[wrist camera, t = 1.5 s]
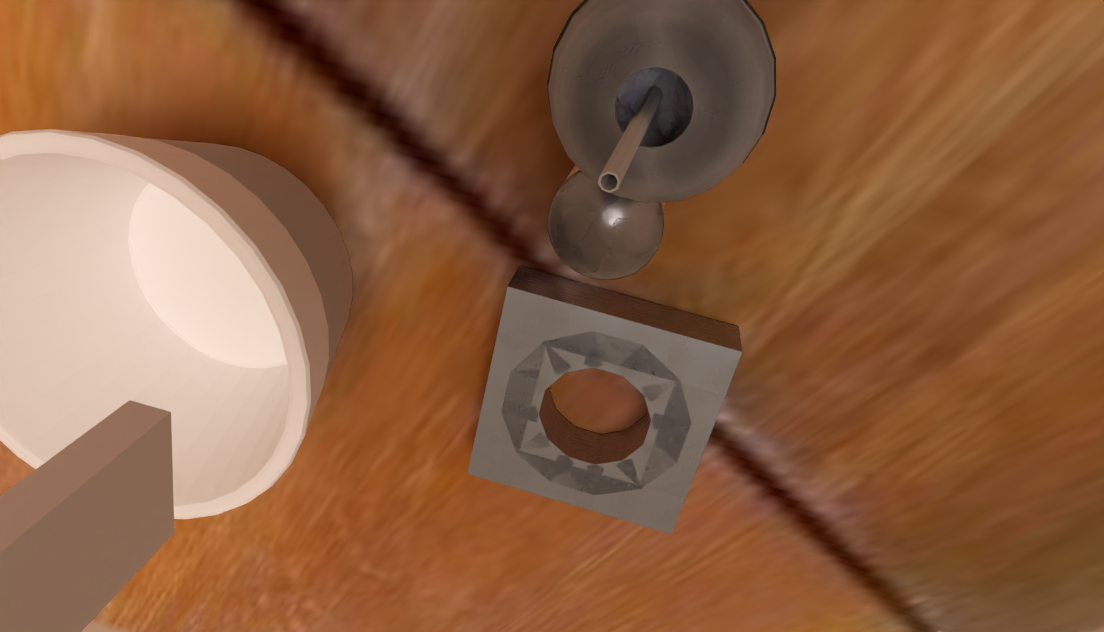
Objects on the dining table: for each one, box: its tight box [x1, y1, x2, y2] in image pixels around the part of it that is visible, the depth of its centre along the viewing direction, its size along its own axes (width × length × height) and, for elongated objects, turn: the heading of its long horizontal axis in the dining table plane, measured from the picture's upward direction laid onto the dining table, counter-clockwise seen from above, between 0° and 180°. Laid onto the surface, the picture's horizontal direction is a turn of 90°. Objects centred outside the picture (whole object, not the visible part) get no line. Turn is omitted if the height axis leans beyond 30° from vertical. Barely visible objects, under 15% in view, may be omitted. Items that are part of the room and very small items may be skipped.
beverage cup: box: [547, 0, 776, 203], centre depth 25 cm, size 7×7×20 cm
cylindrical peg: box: [547, 165, 666, 280], centre depth 33 cm, size 5×5×8 cm
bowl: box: [0, 129, 353, 519], centre depth 37 cm, size 19×19×11 cm
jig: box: [467, 266, 742, 534], centre depth 40 cm, size 12×12×3 cm
